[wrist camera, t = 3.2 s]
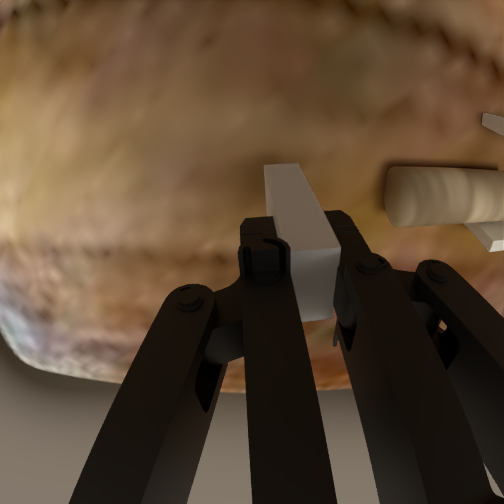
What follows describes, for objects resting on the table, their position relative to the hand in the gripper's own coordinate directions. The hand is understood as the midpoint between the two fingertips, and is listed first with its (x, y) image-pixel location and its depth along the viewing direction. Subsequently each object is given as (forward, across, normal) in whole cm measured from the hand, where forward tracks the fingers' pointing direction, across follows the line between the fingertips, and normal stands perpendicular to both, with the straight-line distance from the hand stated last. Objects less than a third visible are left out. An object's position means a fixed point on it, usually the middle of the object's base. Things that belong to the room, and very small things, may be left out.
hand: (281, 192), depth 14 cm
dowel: (+2, +11, 0) cm, 11 cm away
